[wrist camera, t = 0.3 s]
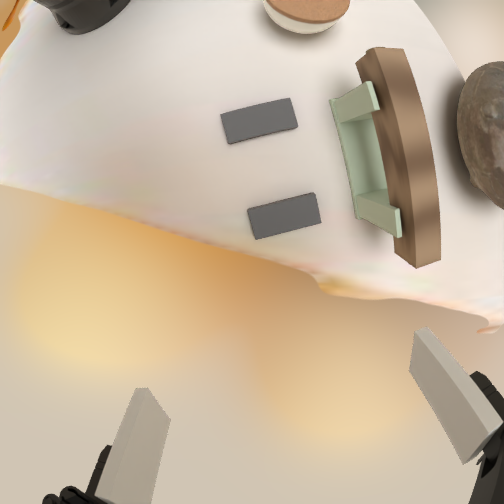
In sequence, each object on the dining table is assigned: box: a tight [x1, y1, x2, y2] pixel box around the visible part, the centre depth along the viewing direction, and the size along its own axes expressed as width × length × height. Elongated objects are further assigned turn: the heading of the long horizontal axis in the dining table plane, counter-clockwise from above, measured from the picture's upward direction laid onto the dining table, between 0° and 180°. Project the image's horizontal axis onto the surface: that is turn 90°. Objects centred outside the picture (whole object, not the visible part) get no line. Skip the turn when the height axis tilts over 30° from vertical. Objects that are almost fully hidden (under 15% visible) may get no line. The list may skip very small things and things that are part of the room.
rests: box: [220, 98, 321, 240], centre depth 34 cm, size 17×9×2 cm, turn 15°
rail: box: [355, 47, 441, 269], centre depth 23 cm, size 23×4×5 cm, turn 15°
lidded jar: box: [263, 0, 350, 34], centre depth 22 cm, size 11×11×9 cm
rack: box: [329, 81, 402, 238], centre depth 28 cm, size 17×6×12 cm, turn 15°
